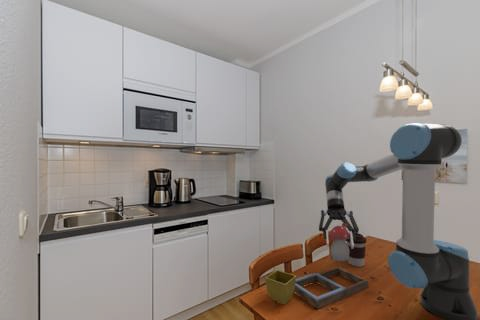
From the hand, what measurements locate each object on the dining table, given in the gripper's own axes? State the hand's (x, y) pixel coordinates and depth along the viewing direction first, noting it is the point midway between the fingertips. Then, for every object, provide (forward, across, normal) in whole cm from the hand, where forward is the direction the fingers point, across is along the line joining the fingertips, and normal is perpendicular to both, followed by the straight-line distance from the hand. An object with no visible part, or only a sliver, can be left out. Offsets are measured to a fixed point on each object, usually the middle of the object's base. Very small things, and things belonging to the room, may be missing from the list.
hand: (340, 246), depth 99 cm
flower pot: (+23, +23, -2) cm, 33 cm away
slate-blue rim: (+15, +10, -5) cm, 19 cm away
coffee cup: (-7, -10, -32) cm, 34 cm away
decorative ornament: (+2, 0, -7) cm, 7 cm away
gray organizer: (+13, +5, -11) cm, 18 cm away
